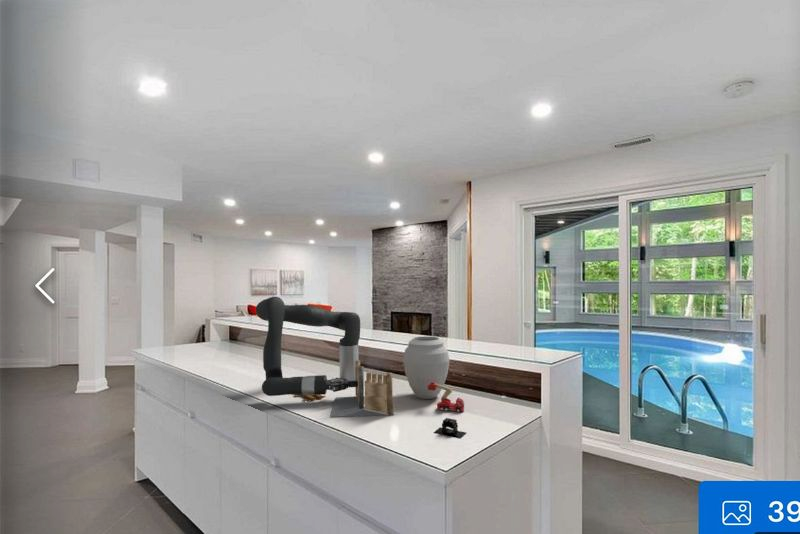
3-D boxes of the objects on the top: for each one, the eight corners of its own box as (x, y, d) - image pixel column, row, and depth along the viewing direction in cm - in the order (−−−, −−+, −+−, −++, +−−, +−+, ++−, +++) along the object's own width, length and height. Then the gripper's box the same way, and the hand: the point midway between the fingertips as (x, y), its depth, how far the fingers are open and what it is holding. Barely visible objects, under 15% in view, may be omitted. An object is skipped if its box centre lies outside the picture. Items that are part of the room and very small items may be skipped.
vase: (459, 395, 166) (458, 337, 167) (430, 407, 152) (429, 343, 153) (423, 387, 179) (422, 333, 180) (393, 397, 165) (393, 338, 166)
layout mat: (335, 398, 165) (335, 396, 165) (390, 396, 166) (390, 395, 167) (330, 418, 141) (330, 416, 141) (394, 415, 143) (394, 414, 143)
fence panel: (363, 405, 153) (363, 368, 153) (358, 406, 152) (358, 368, 153) (360, 394, 168) (359, 360, 168) (355, 394, 168) (355, 360, 168)
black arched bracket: (427, 435, 127) (427, 420, 127) (437, 427, 133) (437, 413, 133) (464, 442, 121) (463, 427, 121) (472, 434, 127) (472, 419, 127)
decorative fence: (306, 404, 159) (328, 399, 165) (306, 399, 159) (327, 394, 165) (280, 391, 178) (301, 387, 185) (280, 386, 178) (301, 382, 185)
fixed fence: (358, 409, 150) (357, 367, 151) (361, 407, 152) (360, 366, 152) (390, 416, 143) (390, 371, 143) (393, 414, 144) (393, 370, 145)
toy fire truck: (463, 413, 145) (463, 386, 146) (427, 409, 150) (427, 383, 150) (465, 410, 148) (464, 384, 149) (429, 406, 153) (429, 381, 153)
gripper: (312, 379, 152) (357, 378, 154) (316, 371, 166) (357, 370, 167) (312, 399, 152) (357, 398, 154) (316, 389, 165) (357, 388, 167)
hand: (357, 383), depth 160 cm, fingers closed
